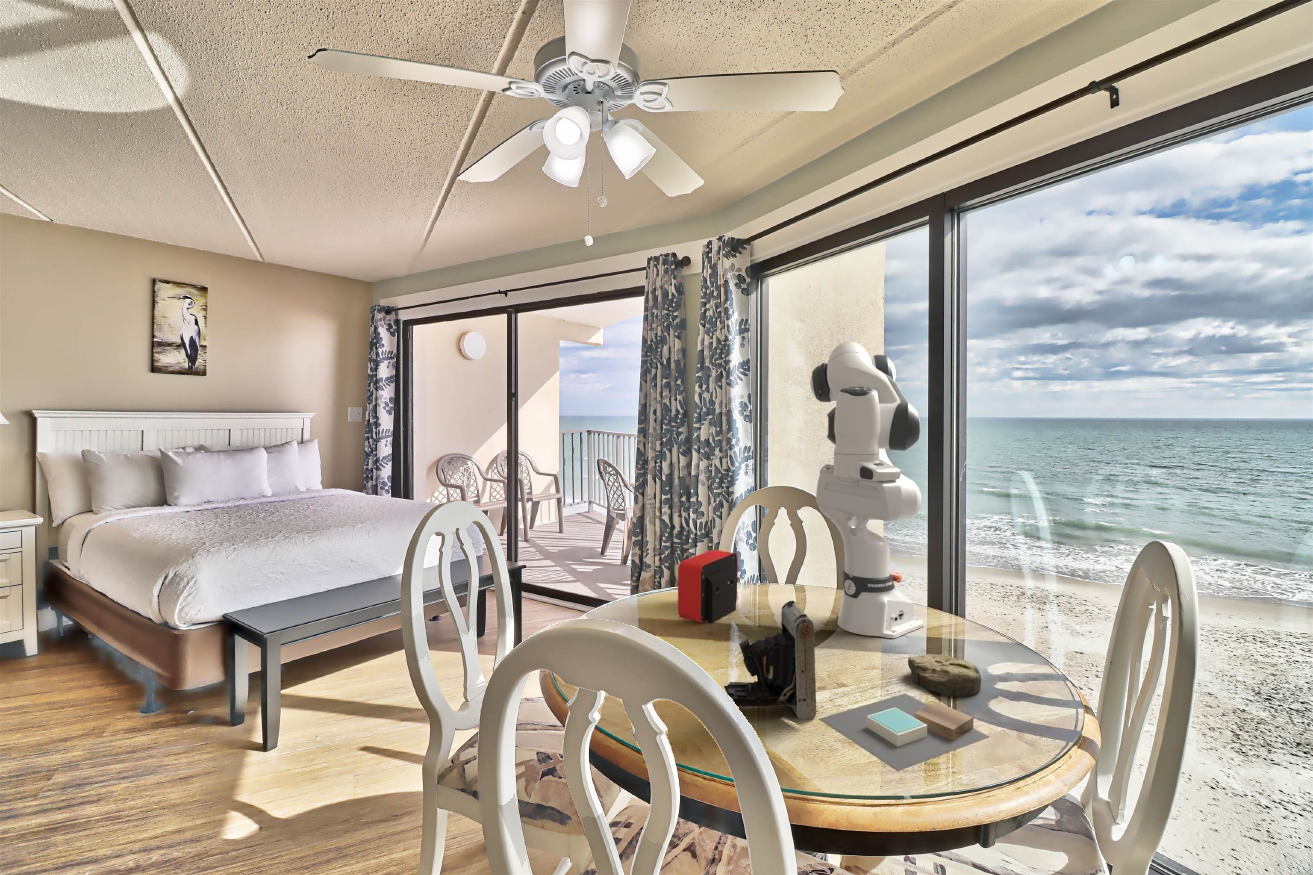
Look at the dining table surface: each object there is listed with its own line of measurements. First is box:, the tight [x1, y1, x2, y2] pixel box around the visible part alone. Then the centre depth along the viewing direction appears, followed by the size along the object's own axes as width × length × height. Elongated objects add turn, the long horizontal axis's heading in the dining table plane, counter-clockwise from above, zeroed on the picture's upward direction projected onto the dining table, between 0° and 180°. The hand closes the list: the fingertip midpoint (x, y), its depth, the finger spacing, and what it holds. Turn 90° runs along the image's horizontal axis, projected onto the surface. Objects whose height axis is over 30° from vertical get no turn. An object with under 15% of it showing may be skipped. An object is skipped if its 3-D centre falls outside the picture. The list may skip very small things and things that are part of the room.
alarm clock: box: [677, 549, 738, 624], centre depth 171 cm, size 10×20×16 cm, turn 144°
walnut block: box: [915, 701, 975, 741], centre depth 111 cm, size 7×7×2 cm
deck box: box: [866, 708, 927, 746], centre depth 109 cm, size 7×2×7 cm
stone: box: [907, 653, 982, 698], centre depth 128 cm, size 13×13×5 cm
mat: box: [819, 693, 990, 772], centre depth 110 cm, size 22×18×1 cm
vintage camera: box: [723, 600, 817, 721], centre depth 116 cm, size 10×16×20 cm, turn 95°
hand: (855, 535), depth 126 cm, fingers closed
